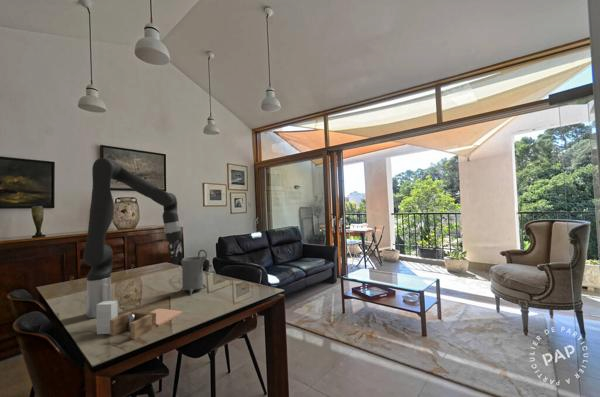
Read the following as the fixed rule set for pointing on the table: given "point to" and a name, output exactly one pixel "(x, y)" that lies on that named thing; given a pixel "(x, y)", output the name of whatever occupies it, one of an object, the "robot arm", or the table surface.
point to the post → (130, 320)
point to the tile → (165, 315)
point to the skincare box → (105, 315)
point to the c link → (134, 323)
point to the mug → (193, 272)
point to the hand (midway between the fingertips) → (178, 262)
